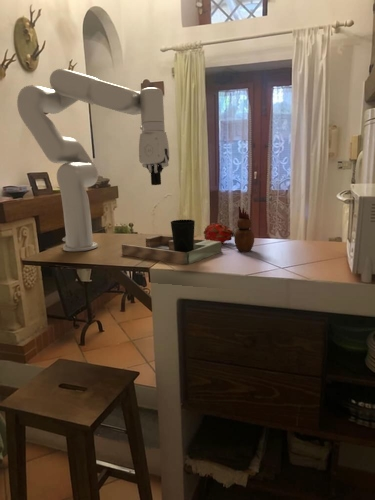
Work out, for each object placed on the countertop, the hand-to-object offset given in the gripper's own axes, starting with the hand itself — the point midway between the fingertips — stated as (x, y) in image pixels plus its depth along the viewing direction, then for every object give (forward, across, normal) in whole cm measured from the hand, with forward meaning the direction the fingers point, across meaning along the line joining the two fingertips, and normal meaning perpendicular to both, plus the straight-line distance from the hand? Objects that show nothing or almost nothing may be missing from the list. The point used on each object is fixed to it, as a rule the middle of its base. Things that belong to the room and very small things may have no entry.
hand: (156, 184), depth 133 cm
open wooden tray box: (+23, +6, -1) cm, 24 cm away
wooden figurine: (+23, +26, +14) cm, 38 cm away
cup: (+23, +14, -4) cm, 27 cm away
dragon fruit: (+23, +12, +20) cm, 33 cm away
